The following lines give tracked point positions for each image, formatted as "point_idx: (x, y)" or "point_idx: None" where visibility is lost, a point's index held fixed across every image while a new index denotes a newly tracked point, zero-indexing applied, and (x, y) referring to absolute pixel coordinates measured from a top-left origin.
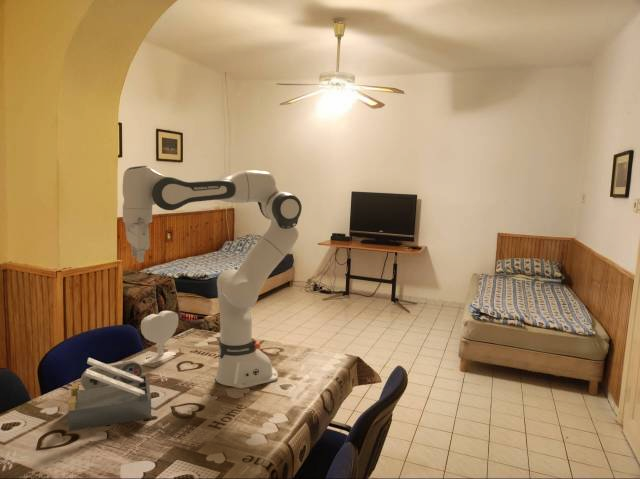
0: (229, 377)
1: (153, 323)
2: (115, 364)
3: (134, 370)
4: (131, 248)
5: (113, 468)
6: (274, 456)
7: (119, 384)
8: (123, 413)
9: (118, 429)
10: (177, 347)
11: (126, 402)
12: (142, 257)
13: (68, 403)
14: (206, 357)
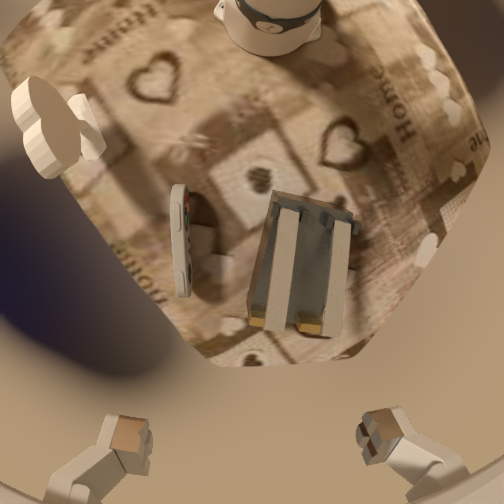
0: (299, 40)
1: (57, 146)
2: (182, 246)
3: (185, 202)
4: (106, 493)
5: (414, 273)
6: (480, 120)
7: (343, 273)
8: None
9: None
10: None
11: None
12: (408, 435)
13: (319, 331)
14: (132, 38)
